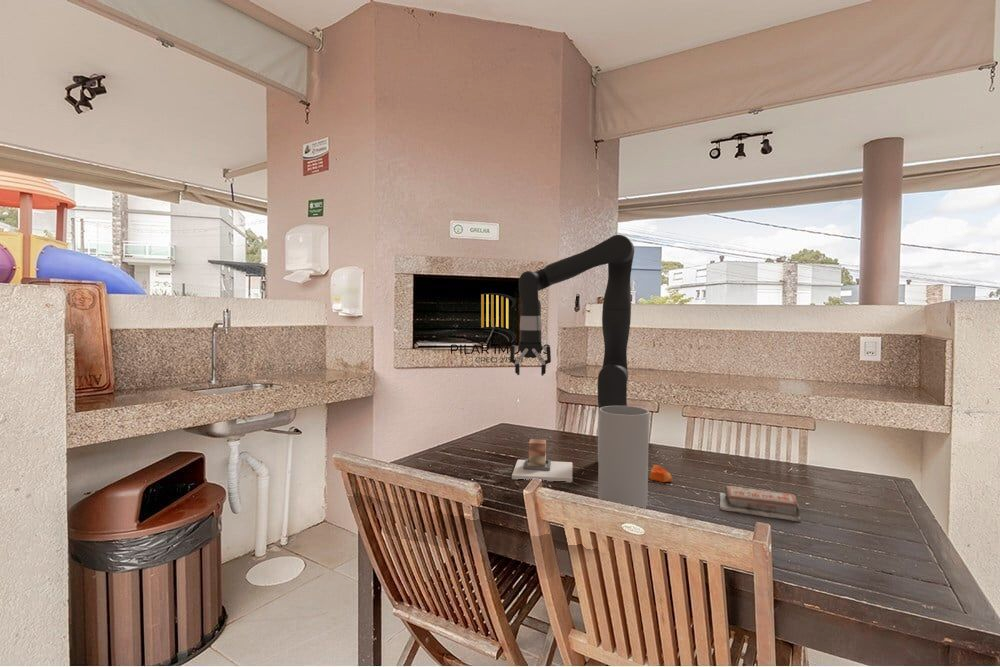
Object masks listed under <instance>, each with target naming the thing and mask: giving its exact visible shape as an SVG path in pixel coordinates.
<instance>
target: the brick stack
mask: <svg viewBox="0 0 1000 667" xmlns="http://www.w3.org/2000/svg"><path fill="white" fill-rule="evenodd" d="M528 459H529V466H541V467H545V466H546V460H547V439H542V438H541V439H539V438H538V439H537V438H530V440H529V442H528Z"/></svg>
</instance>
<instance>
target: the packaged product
mask: <svg viewBox="0 0 1000 667" xmlns="http://www.w3.org/2000/svg"><path fill="white" fill-rule="evenodd" d="M724 488H725V489H724V490H725V492H719V508H720V511H726V512H727V511H728V512H736V513H739V514H747V515H752V516H753V515H755V516H759V517H766V518H772V519H773V518H774V519H780V520H787V521H793V522H799V523H800V522H802V519H801V516H800V512H801V509H800V504H799V502H798V501H797V496H796V495H795V494H791V493H786V492H785V493H784V492H778V491H769V490H764V489H763V490H762V489H755V488H750V487H749V488H748V487H741V486H736V485H735V486H733V485H726V486H725V487H724Z"/></svg>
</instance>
